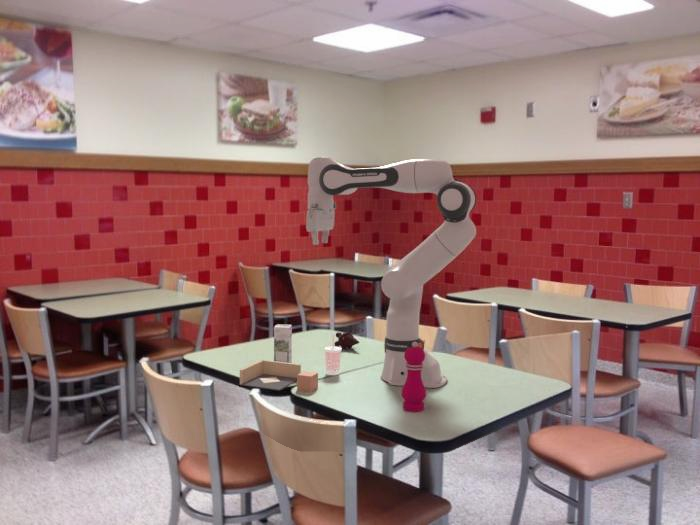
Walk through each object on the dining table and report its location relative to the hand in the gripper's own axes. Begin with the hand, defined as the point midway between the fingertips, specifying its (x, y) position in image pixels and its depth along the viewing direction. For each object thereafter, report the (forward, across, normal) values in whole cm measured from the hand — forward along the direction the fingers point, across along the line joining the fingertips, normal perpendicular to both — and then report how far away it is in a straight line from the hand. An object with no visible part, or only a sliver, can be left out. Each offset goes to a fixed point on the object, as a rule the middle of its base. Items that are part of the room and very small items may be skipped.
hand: (320, 243), depth 224 cm
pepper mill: (+46, -31, -40) cm, 68 cm away
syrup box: (+45, +4, +16) cm, 48 cm away
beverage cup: (+46, -2, -6) cm, 46 cm away
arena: (+45, -20, +10) cm, 50 cm away
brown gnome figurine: (+46, +35, 0) cm, 58 cm away
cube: (+45, -22, -3) cm, 51 cm away
